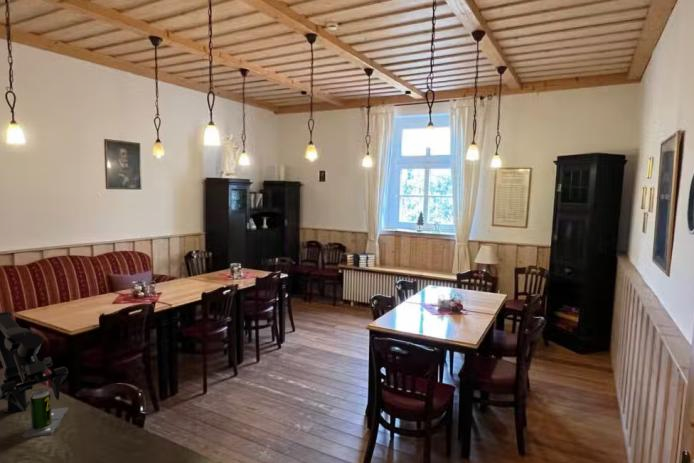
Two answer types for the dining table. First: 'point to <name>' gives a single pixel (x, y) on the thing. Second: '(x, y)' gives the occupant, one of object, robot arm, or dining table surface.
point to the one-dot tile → (58, 413)
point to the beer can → (40, 409)
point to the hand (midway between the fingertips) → (42, 405)
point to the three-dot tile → (47, 431)
